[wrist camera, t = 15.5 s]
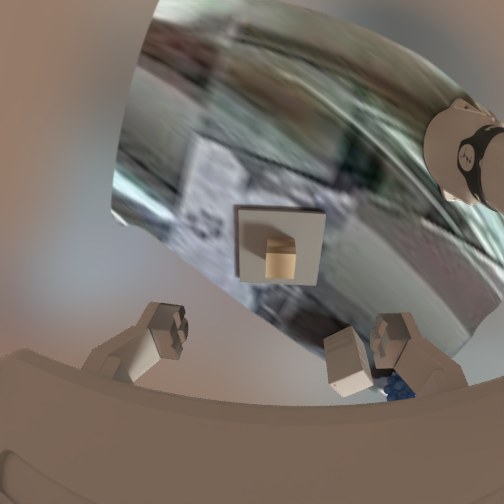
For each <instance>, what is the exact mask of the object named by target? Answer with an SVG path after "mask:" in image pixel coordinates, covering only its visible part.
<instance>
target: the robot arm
mask: <svg viewBox="0 0 504 504" xmlns="http://www.w3.org/2000/svg"><path fill="white" fill-rule="evenodd" d="M465 107H466V109H465ZM424 158H425V162H426V166H427V168H428V170H429V172H430V174H431V176H432V177H433V179H434V180H435V181H436V182H437V183H438V185H439V186H440V190H441V193H442V196H443V198H444V199H445V200H447V201H463V202H465V203H466V204H468V205H471V206H472V205H473V204H482V205H483V206H485V207H487V208H488V209H491V210H493V211H495V212H500V213H501V214H503V215H504V123H503V122H501V121H498V120H495V122H494V117H492V116H490V115H488V116H487V115H486V114H484V113H482V112H480V111H479V110H478V109H476V108H475V107H473V106H472V105H470V104H469V103H467V102H466V101H464V100H463V99H459V98H458V99H456V100H455V101H454V102H453V103H452V105H451V106H450V107H449V108H448V109H446V110H444V111H442V112H440V113H439V114H437V115H436V116H435V117H434V118H433V119H432V121H431V122H430V124H429V126H428V128H427V130H426V134H425V138H424ZM184 315H185V309H184V306H182V305H174V304H166V303H157V302H150V303H149V304H148V305H147V307H146V309H145V310H144V312H143V314H142V316H141V318H140V319H139V321H138V323H137V324H136V326H131V327H130V328H128V329H126V330H125V331H123V332H121V333H120V334H118V335H116V336H115V337H113V338H111V339H110V340H108V341H106V342H105V343H103V344H101V345H99V346H98V347H96V348H94V349H93V350H92V351H91V353H90V354H89V356H88V358H87V359H86V361H85V363H84V365H83V366H82V368H81V369H78V368H75V367H73V366H70V365H67V364H64V363H62V362H59V361H56V360H54V359H51V358H49V357H47V356H44V355H41V354H39V353H37V352H35V351H33V350H31V349H28V348H21V349H18V350H16V351H14V352H11V353H9V354H7V355H5V356H4V357H2V358H0V504H504V376H501V377H499V378H495V379H492V380H489V381H486V382H483V383H479V384H475V385H472V386H468V383H467V381H466V378H465V376H464V373H463V371H462V369H461V366H460V365H459V364H457V363H456V362H455V361H453V360H452V359H451V358H450V357H449V356H447V355H446V354H445V353H443V352H442V351H441V350H440V349H438V348H437V347H436V346H435V345H433V344H432V343H431V342H429V341H428V340H427V339H425V338H422V336H421V334H420V332H419V330H418V327H417V325H416V323H415V321H414V319H413V316H412V314H411V313H410V312H404V313H380V314H378V315H377V316H376V319H375V322H376V325H375V326H374V327H373V328H372V331H371V334H370V345H371V349H372V350H373V351H374V352H375V354H374V356H373V358H374V362H375V366H376V369H383V368H394V370H395V371H396V372H397V373H398V374H399V375H400V377H401V378H402V379H403V380H404V381H405V382H406V383H407V385H408V386H409V387H410V388H411V389H412V390H413V391H414V393H415V394H416V397H415V398H410V399H403V400H396V401H388V402H379V403H369V404H356V405H340V406H275V405H258V404H245V403H234V402H226V401H217V400H210V399H203V398H196V397H190V396H184V395H178V394H172V393H167V392H163V391H158V390H153V389H148V388H144V387H140V386H136V385H135V384H134V381H135V380H136V379H137V378H139V376H141V375H142V374H143V373H144V372H146V371H147V370H148V369H149V368H150V367H151V366H153V365H154V364H155V363H156V362H157V361H158V360H160V358H166V359H173V360H179V358H180V355H181V352H182V350H183V348H182V343H184V342H185V341H186V339H187V336H188V322H187V320H186V319H185V318H184Z"/></svg>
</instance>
